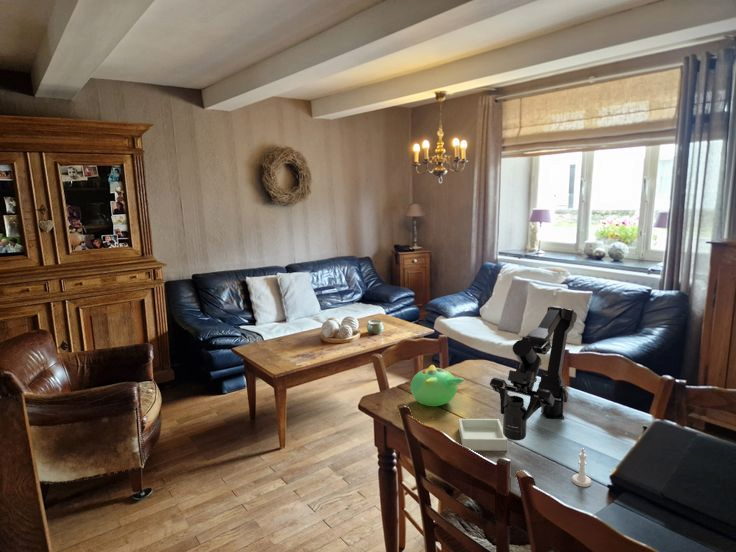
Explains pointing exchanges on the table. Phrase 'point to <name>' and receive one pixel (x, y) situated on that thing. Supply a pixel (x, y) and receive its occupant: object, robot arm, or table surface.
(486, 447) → the tray
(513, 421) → the supplement bottle
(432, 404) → the toy bird
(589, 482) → the chess piece
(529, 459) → the table surface
